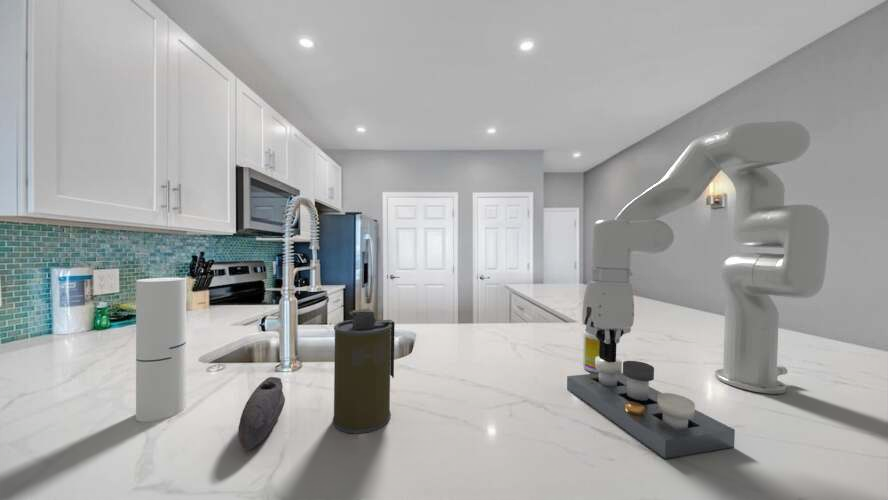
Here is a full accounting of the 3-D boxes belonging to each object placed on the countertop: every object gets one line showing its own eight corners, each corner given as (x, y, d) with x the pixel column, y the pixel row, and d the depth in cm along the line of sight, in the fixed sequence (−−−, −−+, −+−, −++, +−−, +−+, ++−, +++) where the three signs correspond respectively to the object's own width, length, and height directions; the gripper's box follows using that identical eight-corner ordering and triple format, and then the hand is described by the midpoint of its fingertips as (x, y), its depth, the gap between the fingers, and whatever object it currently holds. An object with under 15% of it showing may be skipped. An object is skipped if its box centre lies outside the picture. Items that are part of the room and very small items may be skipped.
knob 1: (609, 381, 75) (609, 355, 75) (626, 391, 70) (627, 363, 70) (589, 383, 74) (590, 356, 74) (606, 393, 69) (606, 365, 69)
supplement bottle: (613, 375, 83) (615, 325, 83) (585, 373, 84) (587, 323, 84) (606, 366, 90) (607, 319, 89) (580, 364, 91) (581, 317, 91)
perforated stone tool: (261, 458, 49) (261, 412, 49) (222, 462, 48) (222, 415, 48) (289, 409, 64) (289, 373, 64) (260, 411, 63) (260, 375, 63)
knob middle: (637, 389, 67) (638, 359, 67) (659, 400, 62) (660, 369, 62) (616, 391, 66) (617, 361, 66) (637, 403, 61) (638, 371, 61)
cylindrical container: (194, 406, 64) (195, 278, 64) (152, 424, 57) (152, 282, 57) (170, 399, 66) (170, 276, 66) (126, 417, 60) (126, 280, 59)
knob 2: (673, 424, 60) (673, 391, 59) (701, 441, 54) (702, 405, 54) (649, 427, 58) (650, 394, 58) (676, 445, 53) (677, 408, 53)
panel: (566, 389, 75) (567, 371, 75) (618, 384, 78) (619, 367, 78) (664, 459, 50) (665, 433, 50) (734, 447, 54) (735, 423, 54)
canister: (338, 440, 54) (339, 319, 54) (328, 411, 63) (329, 307, 63) (400, 424, 59) (402, 313, 59) (383, 399, 68) (384, 303, 68)
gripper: (625, 274, 77) (622, 352, 77) (569, 274, 73) (566, 356, 74) (653, 278, 70) (649, 364, 70) (592, 278, 66) (589, 368, 66)
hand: (607, 359), depth 72 cm, fingers closed
